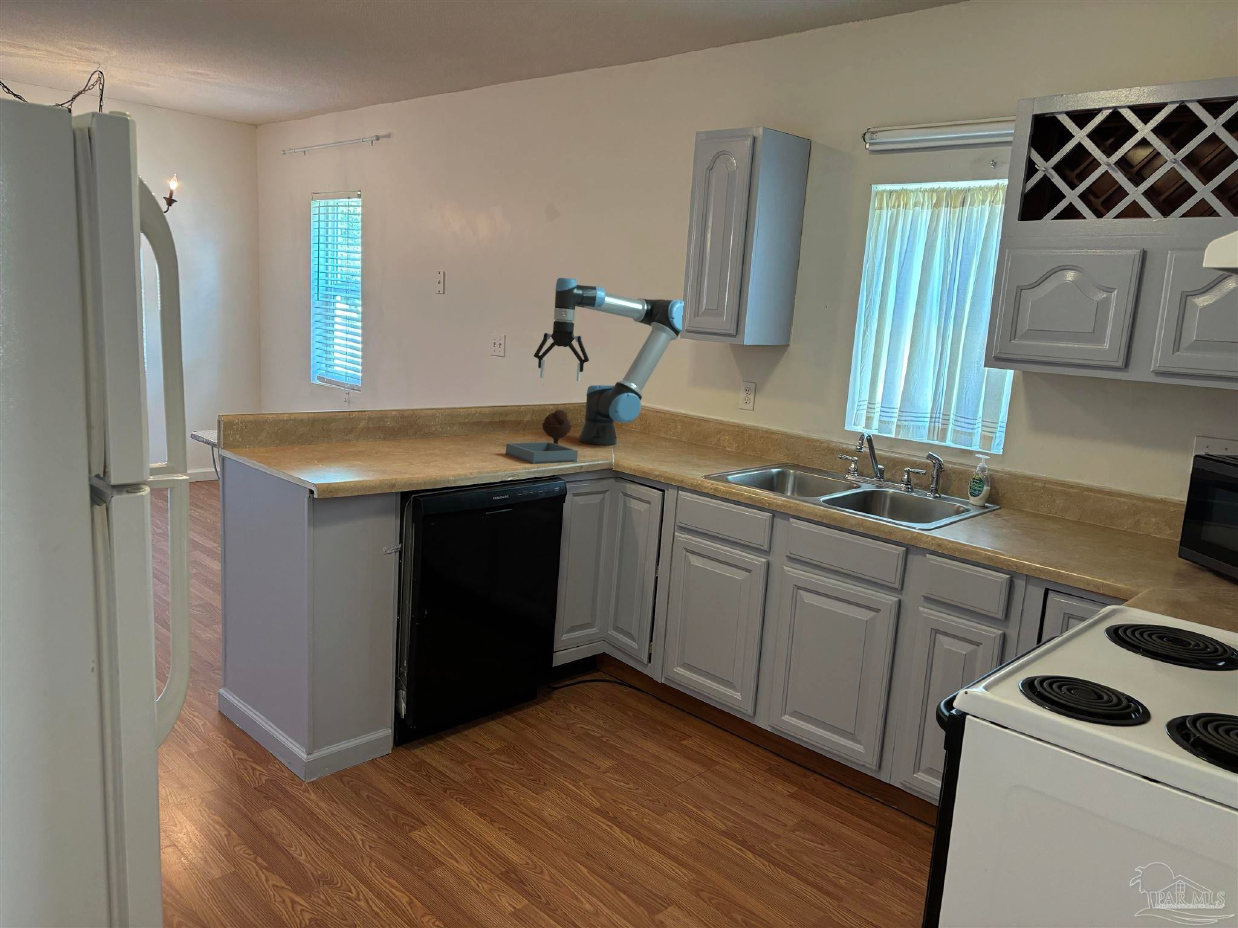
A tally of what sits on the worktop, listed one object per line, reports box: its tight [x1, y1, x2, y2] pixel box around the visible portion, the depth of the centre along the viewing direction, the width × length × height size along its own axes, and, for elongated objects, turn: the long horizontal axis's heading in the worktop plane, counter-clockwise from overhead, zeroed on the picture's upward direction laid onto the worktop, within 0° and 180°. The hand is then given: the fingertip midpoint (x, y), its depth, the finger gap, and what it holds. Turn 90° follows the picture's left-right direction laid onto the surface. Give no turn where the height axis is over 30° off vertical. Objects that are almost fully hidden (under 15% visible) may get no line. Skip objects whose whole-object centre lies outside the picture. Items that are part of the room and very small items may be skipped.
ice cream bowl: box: [541, 409, 573, 445], centre depth 328 cm, size 11×11×15 cm
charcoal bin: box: [505, 441, 579, 465], centre depth 307 cm, size 18×18×4 cm
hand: (559, 379), depth 325 cm, fingers open, 13 cm apart
